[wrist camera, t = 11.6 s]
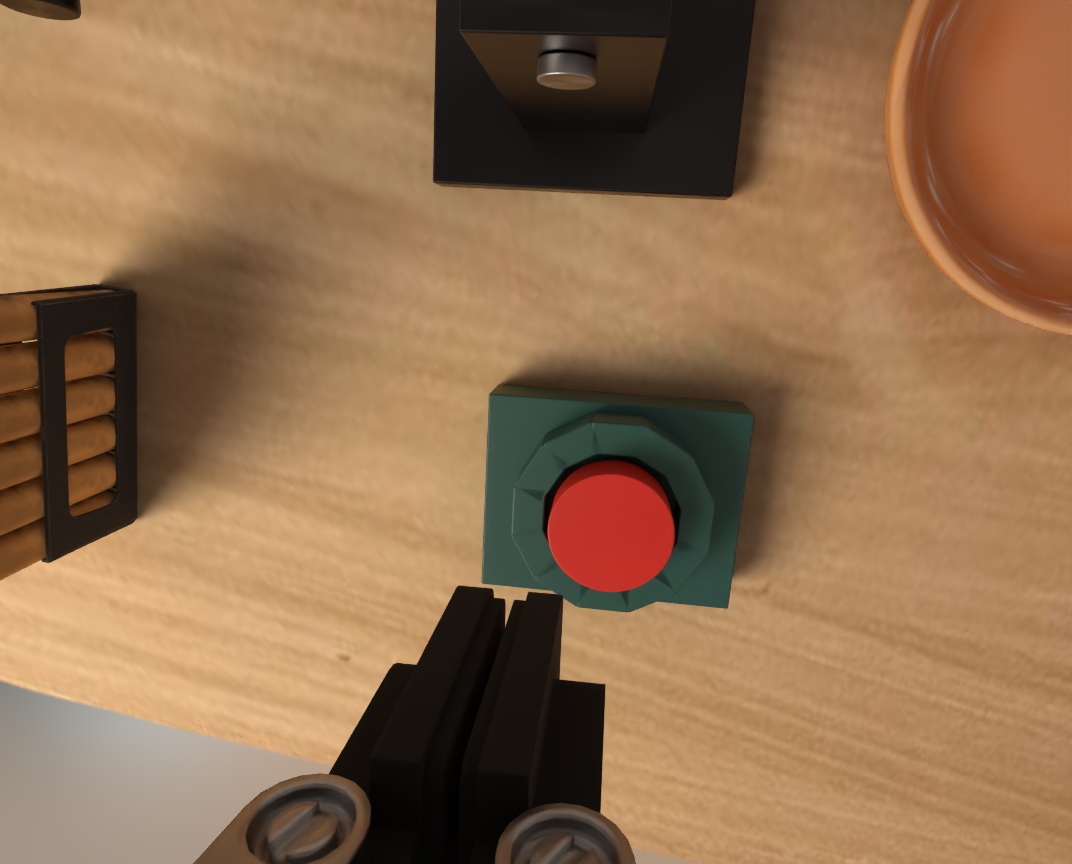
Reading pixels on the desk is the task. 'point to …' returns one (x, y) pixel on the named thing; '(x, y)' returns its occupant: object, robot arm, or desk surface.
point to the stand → (591, 95)
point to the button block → (625, 435)
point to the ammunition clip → (66, 420)
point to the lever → (46, 8)
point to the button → (611, 526)
